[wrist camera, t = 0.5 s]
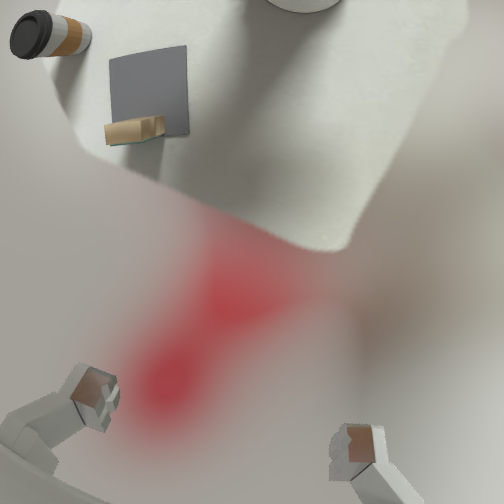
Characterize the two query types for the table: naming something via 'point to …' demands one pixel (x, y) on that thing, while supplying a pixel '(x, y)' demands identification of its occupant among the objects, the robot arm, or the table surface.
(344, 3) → the table surface
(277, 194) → the table surface
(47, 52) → the coffee cup
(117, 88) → the mat
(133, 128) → the plaque
